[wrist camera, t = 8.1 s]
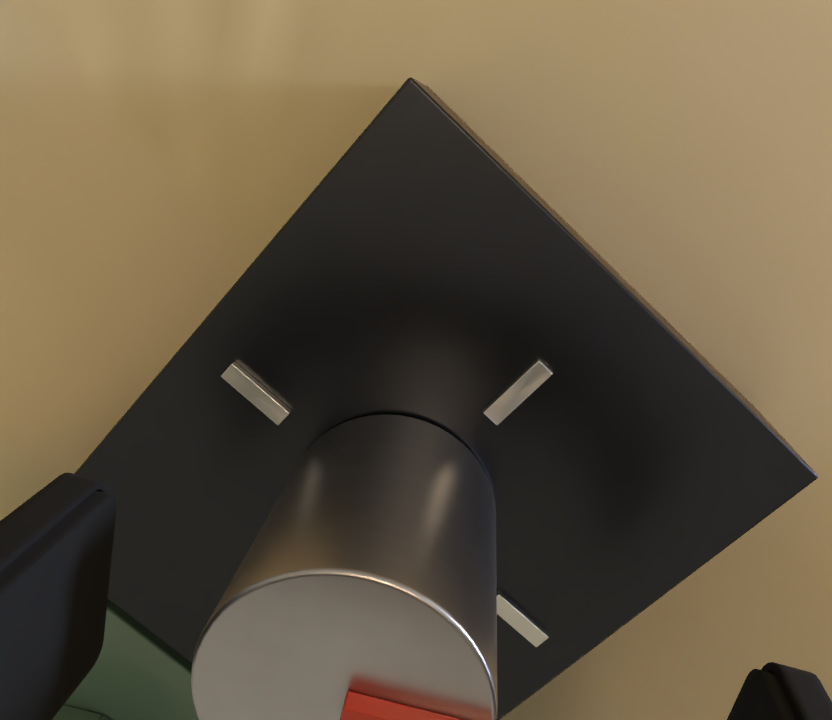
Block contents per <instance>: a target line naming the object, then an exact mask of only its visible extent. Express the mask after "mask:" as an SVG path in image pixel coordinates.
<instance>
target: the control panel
mask: <svg viewBox="0 0 832 720" xmlns="http://www.w3.org/2000/svg"><path fill="white" fill-rule="evenodd" d="M384 414H386V415H401V416H406V417H412V418H416V419H419V420H422V421H426V422H428V423H430V424H433V425H435V426H437V427H439V428H441V429H443V430H444V431H446V432H448V433H449V434H451V435H453V436H454V437H455V438H456V439H458V440H459V441H460V442H462V443H463V444H464V445H465V446H466V447H467V448H468V449H469V450H470V451H471V452H472V453H473V455H474V456H475V457H476V459H477V460H478V461H479V462H480V464H481V465H482V467H483V469H484V471H485V473H486V474H487V476H488V479H489V481H490V484H491V486H492V490H493V494H494V498H495V507H496V577H497V700H498V707H497V720H500V719H501V718H502V717H503V716H505V715H506V714H507V713H509V712H510V711H511V710H513V709H514V708H515V707H517V706H518V705H519V704H521V703H522V702H523V701H525V700H526V699H527V698H529V697H530V696H531V695H532V694H534V693H535V692H536V691H538V690H539V689H540V688H542V687H543V686H544V685H546V684H547V683H548V682H550V681H551V680H552V679H554V678H555V677H556V676H558V675H559V674H560V673H561V672H563V671H564V670H565V669H567V668H568V667H569V666H571V665H572V664H573V663H575V662H576V661H577V660H579V659H580V658H581V657H583V656H584V655H585V654H586V653H588V652H589V651H590V650H592V649H593V648H594V647H596V646H597V645H598V644H600V643H601V642H602V641H604V640H605V639H606V638H608V637H609V636H610V635H612V634H613V633H614V632H615V631H617V630H618V629H619V628H621V627H622V626H623V625H625V624H626V623H627V622H629V621H630V620H631V619H633V618H634V617H635V616H637V615H638V614H639V613H641V612H642V611H643V610H644V609H646V608H647V607H648V606H650V605H651V604H652V603H654V602H655V601H656V600H658V599H659V598H660V597H662V596H663V595H664V594H666V593H667V592H668V591H670V590H671V589H672V588H673V587H675V586H676V585H677V584H679V583H680V582H681V581H683V580H684V579H685V578H687V577H688V576H689V575H691V574H692V573H693V572H695V571H696V570H697V569H698V568H700V567H701V566H702V565H704V564H705V563H706V562H708V561H709V560H710V559H712V558H713V557H714V556H716V555H717V554H718V553H720V552H721V551H722V550H724V549H725V548H726V547H727V546H729V545H730V544H731V543H733V542H734V541H735V540H737V539H738V538H739V537H741V536H742V535H743V534H745V533H746V532H747V531H749V530H750V529H751V528H753V527H754V526H755V525H756V524H758V523H759V522H760V521H762V520H763V519H764V518H766V517H767V516H768V515H770V514H771V513H772V512H774V511H775V510H776V509H778V508H779V507H780V506H782V505H783V504H784V503H785V502H787V501H788V500H789V499H791V498H792V497H793V496H795V495H796V494H797V493H799V492H800V491H801V490H803V489H804V488H805V487H807V486H808V485H809V484H810V483H812V482H813V481H814V480H816V479H817V478H818V476H817V474H816V473H815V472H814V471H813V470H812V468H811V467H810V466H809V465H808V464H807V463H806V462H805V461H804V460H803V459H802V458H801V457H800V455H799V454H798V453H797V452H796V451H795V450H794V449H793V448H792V447H791V446H790V445H789V444H788V442H787V441H786V440H785V439H784V438H783V437H782V436H781V435H780V434H779V433H778V432H777V430H776V429H775V428H774V427H773V426H772V425H771V424H770V423H769V422H768V421H767V420H766V419H765V417H764V416H763V415H762V414H761V413H760V412H759V411H758V410H757V409H756V408H755V407H754V406H753V405H752V404H751V403H750V402H749V401H748V400H747V399H746V398H745V397H744V396H742V395H741V394H740V393H739V392H738V391H737V390H736V389H735V388H734V387H733V386H732V385H731V384H730V383H729V382H728V381H727V380H726V379H725V378H724V377H723V376H722V375H721V374H720V373H719V372H718V371H717V370H716V369H715V368H714V367H713V366H712V365H711V364H710V363H709V362H708V361H707V360H706V359H705V358H704V357H703V356H702V355H701V354H700V353H699V352H698V351H697V350H696V349H695V348H694V347H693V346H692V345H691V344H690V343H688V342H687V341H686V340H685V339H684V338H683V337H682V336H681V335H680V334H679V333H678V332H677V331H676V330H675V329H674V328H673V327H672V326H671V325H670V324H669V323H668V322H667V321H666V320H665V319H664V318H663V317H662V316H661V315H660V314H659V313H658V312H657V311H656V310H655V309H654V308H653V307H652V306H651V305H650V304H649V303H648V302H647V301H646V300H645V299H644V298H643V297H642V296H641V295H640V294H639V293H638V292H637V291H636V290H635V289H633V288H632V287H631V286H630V285H629V284H628V283H627V282H626V281H625V280H624V279H623V278H622V277H621V276H620V275H619V274H618V273H617V272H616V271H615V270H614V269H613V268H612V267H611V266H610V265H609V264H608V263H607V262H606V261H605V260H604V259H603V258H602V257H601V256H600V255H599V254H598V253H597V252H596V251H595V250H594V249H593V248H592V247H591V246H590V245H589V244H588V243H587V242H586V241H585V240H584V239H583V238H582V237H581V236H579V235H578V234H577V233H576V232H575V231H574V230H573V229H572V228H571V227H570V226H569V225H568V224H567V223H566V222H565V221H564V220H563V219H562V218H561V217H560V216H559V215H558V214H557V213H556V212H555V211H554V210H553V209H552V208H551V207H550V206H549V205H548V204H547V203H546V202H545V201H544V200H543V199H542V198H541V197H540V196H539V195H538V194H537V193H536V192H535V191H534V190H533V189H532V188H531V187H530V186H529V185H528V184H527V183H525V182H524V181H523V180H522V179H521V178H520V177H519V176H518V175H517V174H516V173H515V172H514V171H513V170H512V169H511V168H510V167H509V166H508V165H507V164H506V163H505V162H504V161H503V160H502V159H501V158H500V157H499V156H498V155H497V154H496V153H495V152H494V151H493V150H492V149H491V148H490V147H489V146H488V145H487V144H486V143H485V142H484V141H483V140H482V139H481V138H480V137H479V136H478V135H477V134H476V133H475V132H474V131H473V130H471V129H470V128H469V127H468V126H467V125H466V124H465V123H464V122H463V121H462V120H461V119H460V118H459V117H458V116H457V115H456V114H455V113H454V112H453V111H452V110H451V109H450V108H449V107H448V106H447V105H446V104H445V103H444V102H443V101H442V100H441V99H440V98H439V97H438V96H437V95H436V94H435V93H434V92H433V91H432V90H431V89H430V88H429V87H427V86H426V85H424V84H422V83H420V82H418V81H417V80H415V79H413V78H408V79H407V80H406V82H405V83H404V84H403V85H402V86H401V88H400V89H399V90H398V91H397V92H396V94H395V95H394V96H393V97H392V98H391V99H390V101H389V102H388V103H387V104H386V105H385V107H384V108H383V109H382V110H381V111H380V112H379V114H378V115H377V116H376V117H375V118H374V120H373V121H372V122H371V123H370V124H369V125H368V127H367V128H366V129H365V130H364V131H363V133H362V134H361V135H360V136H359V137H358V139H357V140H356V141H355V142H354V143H353V144H352V146H351V147H350V148H349V149H348V150H347V152H346V153H345V154H344V155H343V156H342V157H341V159H340V160H339V161H338V162H337V163H336V165H335V166H334V167H333V168H332V169H331V171H330V172H329V173H328V174H327V175H326V176H325V178H324V179H323V180H322V181H321V182H320V184H319V185H318V186H317V187H316V188H315V189H314V191H313V192H312V193H311V194H310V195H309V197H308V198H307V199H306V200H305V201H304V202H303V204H302V205H301V206H300V207H299V208H298V210H297V211H296V212H295V213H294V214H293V216H292V217H291V218H290V219H289V220H288V221H287V223H286V224H285V225H284V226H283V227H282V229H281V230H280V231H279V232H278V233H277V234H276V236H275V237H274V238H273V239H272V240H271V242H270V243H269V244H268V245H267V246H266V248H265V249H264V250H263V251H262V252H261V253H260V255H259V256H258V257H257V258H256V259H255V261H254V262H253V263H252V264H251V265H250V266H249V268H248V269H247V270H246V271H245V272H244V274H243V275H242V276H241V277H240V278H239V279H238V281H237V282H236V283H235V284H234V285H233V287H232V288H231V289H230V290H229V291H228V293H227V294H226V295H225V296H224V297H223V298H222V300H221V301H220V302H219V303H218V304H217V306H216V307H215V308H214V309H213V310H212V311H211V313H210V314H209V315H208V316H207V317H206V319H205V320H204V321H203V322H202V323H201V325H200V326H199V327H198V328H197V329H196V330H195V332H194V333H193V334H192V335H191V336H190V338H189V339H188V340H187V341H186V342H185V343H184V345H183V346H182V347H181V348H180V349H179V351H178V352H177V353H176V354H175V355H174V356H173V358H172V359H171V360H170V361H169V362H168V364H167V365H166V366H165V367H164V368H163V370H162V371H161V372H160V373H159V374H158V375H157V377H156V378H155V379H154V380H153V381H152V383H151V384H150V385H149V386H148V387H147V388H146V390H145V391H144V392H143V393H142V394H141V396H140V397H139V398H138V399H137V400H136V401H135V403H134V404H133V405H132V406H131V407H130V409H129V410H128V411H127V412H126V413H125V415H124V416H123V417H122V418H121V419H120V420H119V422H118V423H117V424H116V425H115V426H114V428H113V429H112V430H111V431H110V432H109V433H108V435H107V436H106V437H105V438H104V439H103V441H102V442H101V443H100V444H99V445H98V447H97V448H96V449H95V450H94V451H93V452H92V454H91V455H90V456H89V457H88V458H87V460H86V461H85V462H84V463H83V464H82V465H81V467H80V468H79V469H78V470H77V471H76V473H75V474H76V475H79V476H83V477H87V478H90V479H94V480H98V481H102V482H104V483H105V484H106V485H107V488H108V494H111V495H114V496H115V497H116V500H117V507H116V518H115V528H114V538H113V549H112V559H111V570H110V580H109V590H108V599H109V600H111V601H112V602H113V603H115V604H116V605H117V606H118V607H120V608H121V609H122V610H123V611H125V612H126V613H127V614H129V615H130V616H131V617H132V618H134V619H135V620H136V621H138V622H139V623H140V624H141V625H143V626H144V627H145V628H147V629H148V630H149V631H150V632H152V633H153V634H154V635H155V636H157V637H158V638H159V639H161V640H162V641H163V642H164V643H166V644H167V645H168V646H170V647H171V648H172V649H173V650H175V651H176V652H177V653H178V654H180V655H181V656H182V657H184V658H185V659H186V660H187V661H189V662H190V663H191V664H192V661H193V656H194V652H195V648H196V645H197V643H198V640H199V638H200V635H201V633H202V631H203V629H204V627H205V626H206V624H207V622H208V620H209V619H210V617H211V615H212V613H213V612H214V610H215V608H216V606H217V605H218V603H219V601H220V599H221V598H222V596H223V594H224V592H225V591H226V589H227V587H228V585H229V584H230V582H231V580H232V578H233V577H234V575H235V573H236V571H237V570H238V568H239V566H240V564H241V563H242V561H243V559H244V557H245V556H246V554H247V552H248V550H249V549H250V547H251V545H252V543H253V542H254V540H255V538H256V536H257V535H258V533H259V531H260V529H261V528H262V526H263V524H264V522H265V521H266V519H267V517H268V515H269V514H270V512H271V510H272V508H273V507H274V505H275V503H276V501H277V500H278V498H279V496H280V494H281V493H282V491H283V489H284V487H285V486H286V484H287V482H288V480H289V479H290V477H291V475H292V473H293V472H294V470H295V468H296V466H297V465H298V463H299V461H300V460H301V458H302V456H303V455H304V453H305V452H306V451H307V450H308V448H309V447H310V446H311V445H312V444H313V443H314V442H315V441H316V440H317V439H318V438H319V437H320V436H322V435H323V434H325V433H326V432H328V431H329V430H330V429H332V428H334V427H336V426H338V425H340V424H342V423H344V422H347V421H350V420H353V419H356V418H360V417H365V416H370V415H384Z"/></svg>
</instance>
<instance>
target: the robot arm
mask: <svg viewBox="0 0 832 720" xmlns="http://www.w3.org/2000/svg"><path fill="white" fill-rule="evenodd" d="M116 507H117V500H116V497H115V496H114V495H111V494H108V488H107V485H106V484H105V483H104V482H102V481H98V480H94V479H90V478H87V477H83V476H79V475H76V474H72V473H64V474H62V475H60V476H59V477H57V478H56V479H55V480H53V481H52V482H51V483H49V484H48V485H47V486H46V487H44V488H43V489H42V490H40V491H39V492H38V493H36V494H35V495H34V496H32V497H31V498H30V499H29V500H27V501H26V502H25V503H23V504H22V505H21V506H19V507H18V508H17V509H16V510H14V511H13V512H12V513H10V514H9V515H8V516H6V517H5V518H4V519H2V520H1V521H0V720H52V719H53V718H54V716H55V715H56V714H57V713H58V711H59V710H60V709H61V707H62V706H63V705H64V704H65V702H66V701H67V700H68V699H69V697H70V696H71V695H72V693H73V692H74V691H75V690H76V688H77V687H78V686H79V684H80V683H81V682H82V681H83V679H84V678H85V677H86V676H87V674H88V673H89V672H90V670H91V669H92V668H93V666H94V665H95V663H96V661H97V659H98V657H99V655H100V652H101V649H102V646H103V641H104V632H105V622H106V611H107V601H108V590H109V580H110V570H111V559H112V549H113V538H114V528H115V518H116ZM727 720H832V702H831V700H830V698H829V696H828V695H827V693H826V691H825V689H824V687H823V685H822V684H821V682H820V680H819V679H818V678H817V676H816V675H814V674H812V673H811V672H807V671H803V670H799V669H796V668H792V667H788V666H785V665H781V664H777V663H773V662H771V663H767V664H766V665H765V666H763V668H762V670H758V669H753V670H752V671H751V672H750V673H749V674H748V676H747V678H746V680H745V682H744V684H743V686H742V688H741V691H740V693H739V695H738V697H737V699H736V701H735V704H734V706H733V708H732V710H731V712H730V714H729V716H728V719H727Z"/></svg>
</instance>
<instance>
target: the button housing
mask: <svg viewBox="0 0 832 720" xmlns="http://www.w3.org/2000/svg"><path fill="white" fill-rule="evenodd" d="M191 671H192V664H191V663H190V662H189V661H187V660H186V659H185V658H184V657H182V656H181V655H180V654H178V653H177V652H176V651H175V650H173V649H172V648H171V647H170V646H168V645H167V644H166V643H164V642H163V641H162V640H161V639H159V638H158V637H157V636H155V635H154V634H153V633H152V632H150V631H149V630H148V629H147V628H145V627H144V626H143V625H141V624H140V623H139V622H138V621H136V620H135V619H134V618H132V617H131V616H130V615H129V614H127V613H126V612H125V611H123V610H122V609H121V608H120V607H118V606H117V605H116V604H115V603H113V602H112V601H111V600H109V599H108V601H107V611H106V622H105V632H104V641H103V646H102V649H101V652H100V655H99V657H98V659H97V661H96V663H95V665H94V666H93V668H92V669H91V670H90V672H89V673H88V674H87V676H86V677H85V678H84V679H83V681H82V682H81V683H80V684H79V686H78V687H77V688H76V690H75V691H74V692H73V693H72V695H71V696H70V697H69V699H68V700H67V701H66V702H65V704H64V705H63V706H62V707H61V709H60V710H59V711H58V713H57V714H56V715H55V716H54V718H53V719H52V720H199V719H198V716H197V714H196V710H195V706H194V702H193V697H192V687H191Z"/></svg>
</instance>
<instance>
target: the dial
mask: <svg viewBox="0 0 832 720" xmlns="http://www.w3.org/2000/svg"><path fill="white" fill-rule="evenodd" d="M191 687H192V697H193V702H194V706H195V710H196V714H197V716H198V719H199V720H497V707H498V700H497V577H496V507H495V498H494V494H493V490H492V486H491V484H490V481H489V479H488V476H487V474H486V473H485V471H484V469H483V467H482V465H481V464H480V462H479V461H478V460H477V459H476V457H475V456H474V455H473V453H472V452H471V451H470V450H469V449H468V448H467V447H466V446H465V445H464V444H463V443H462V442H460V441H459V440H458V439H456V438H455V437H454V436H453V435H451V434H449V433H448V432H446V431H444V430H443V429H441V428H439V427H437V426H435V425H433V424H430V423H428V422H426V421H422V420H419V419H416V418H412V417H406V416H401V415H386V414H384V415H370V416H365V417H360V418H356V419H353V420H350V421H347V422H344V423H342V424H340V425H338V426H336V427H334V428H332V429H330V430H329V431H328V432H326V433H325V434H323V435H322V436H320V437H319V438H318V439H317V440H316V441H315V442H314V443H313V444H312V445H311V446H310V447H309V448H308V450H307V451H306V452H305V453H304V455H303V456H302V458H301V460H300V461H299V463H298V465H297V466H296V468H295V470H294V472H293V473H292V475H291V477H290V479H289V480H288V482H287V484H286V486H285V487H284V489H283V491H282V493H281V494H280V496H279V498H278V500H277V501H276V503H275V505H274V507H273V508H272V510H271V512H270V514H269V515H268V517H267V519H266V521H265V522H264V524H263V526H262V528H261V529H260V531H259V533H258V535H257V536H256V538H255V540H254V542H253V543H252V545H251V547H250V549H249V550H248V552H247V554H246V556H245V557H244V559H243V561H242V563H241V564H240V566H239V568H238V570H237V571H236V573H235V575H234V577H233V578H232V580H231V582H230V584H229V585H228V587H227V589H226V591H225V592H224V594H223V596H222V598H221V599H220V601H219V603H218V605H217V606H216V608H215V610H214V612H213V613H212V615H211V617H210V619H209V620H208V622H207V624H206V626H205V627H204V629H203V631H202V633H201V635H200V638H199V640H198V643H197V645H196V648H195V652H194V656H193V661H192V671H191Z"/></svg>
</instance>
